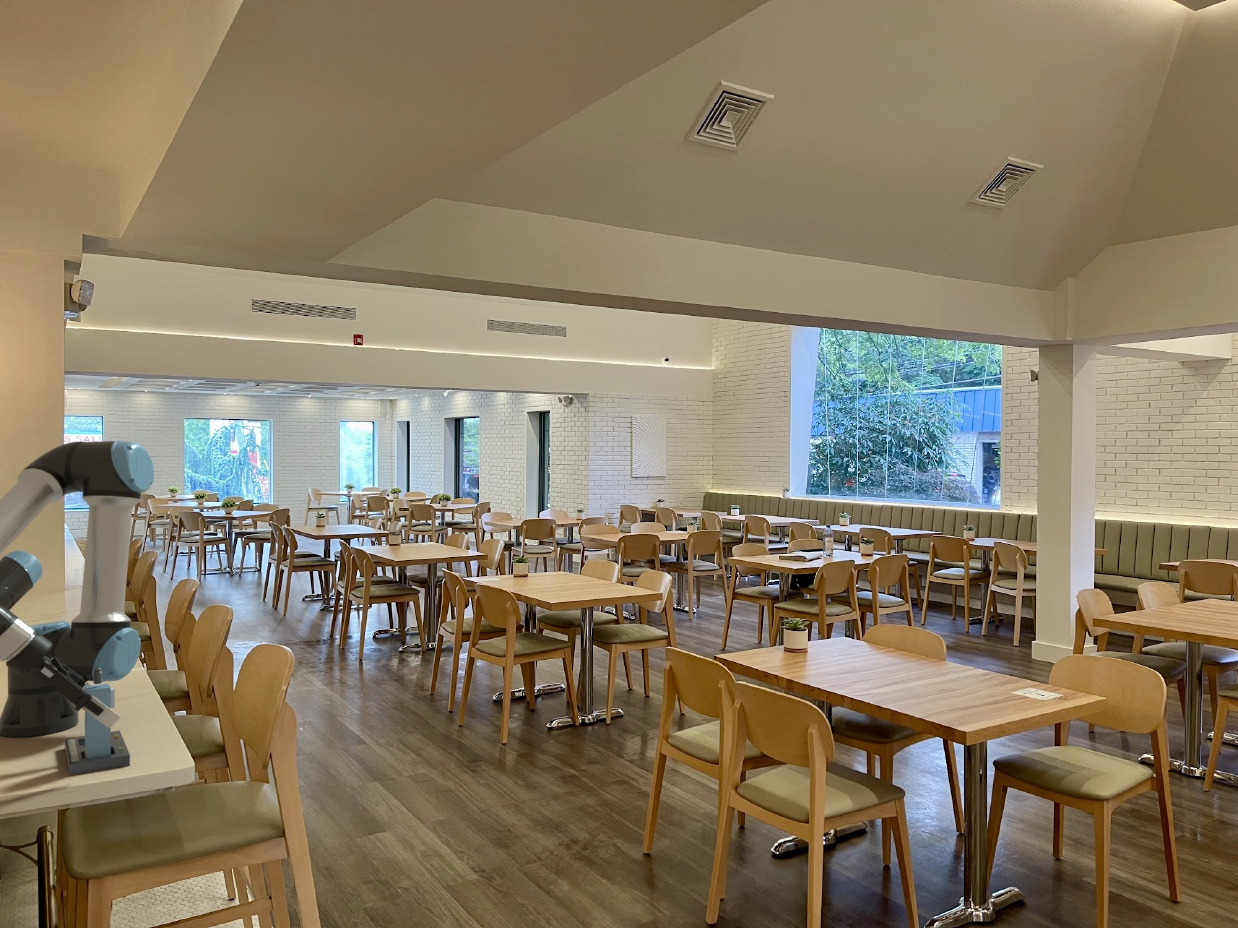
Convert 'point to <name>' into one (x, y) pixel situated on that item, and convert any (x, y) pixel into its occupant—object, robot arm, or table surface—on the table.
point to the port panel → (82, 765)
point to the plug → (94, 729)
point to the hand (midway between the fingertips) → (111, 714)
